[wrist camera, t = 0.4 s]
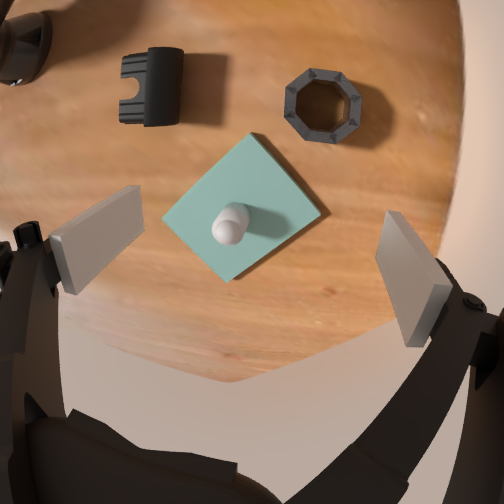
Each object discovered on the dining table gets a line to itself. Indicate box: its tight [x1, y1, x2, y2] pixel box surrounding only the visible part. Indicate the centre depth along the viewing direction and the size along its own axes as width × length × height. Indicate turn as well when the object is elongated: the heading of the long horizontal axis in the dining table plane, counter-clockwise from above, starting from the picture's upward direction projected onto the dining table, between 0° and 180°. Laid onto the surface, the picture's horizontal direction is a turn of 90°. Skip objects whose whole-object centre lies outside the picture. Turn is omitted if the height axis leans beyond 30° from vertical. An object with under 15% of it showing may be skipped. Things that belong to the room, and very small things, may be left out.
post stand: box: [162, 132, 321, 283], centre depth 38 cm, size 14×18×8 cm
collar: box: [284, 68, 362, 144], centre depth 30 cm, size 8×8×5 cm
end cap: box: [119, 47, 184, 127], centre depth 31 cm, size 10×7×7 cm
